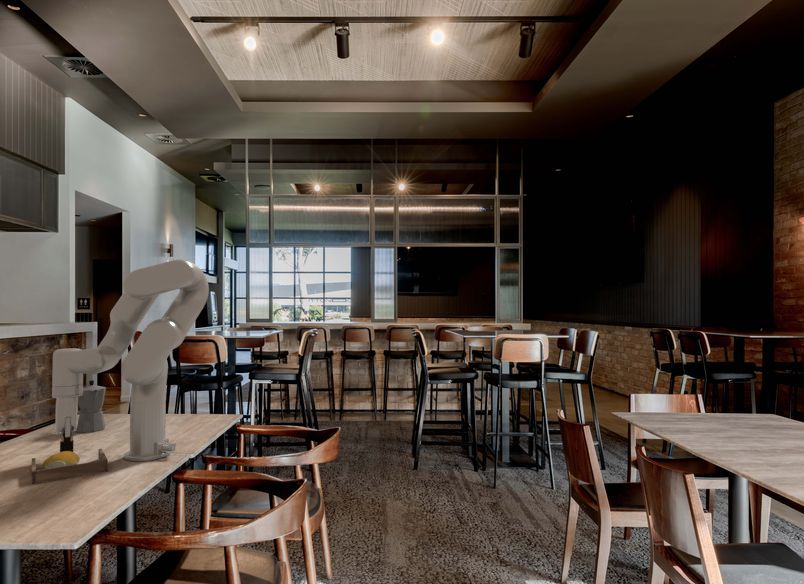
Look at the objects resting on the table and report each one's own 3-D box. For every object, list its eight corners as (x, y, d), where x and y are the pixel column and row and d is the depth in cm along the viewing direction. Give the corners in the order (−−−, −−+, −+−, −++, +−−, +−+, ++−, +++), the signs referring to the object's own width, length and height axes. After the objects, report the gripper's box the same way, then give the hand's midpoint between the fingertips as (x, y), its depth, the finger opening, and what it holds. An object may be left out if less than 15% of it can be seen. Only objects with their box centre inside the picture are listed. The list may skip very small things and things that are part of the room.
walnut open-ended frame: (31, 469, 140) (31, 458, 141) (101, 458, 150) (101, 448, 150) (31, 484, 128) (31, 472, 129) (107, 471, 138) (107, 460, 138)
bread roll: (82, 460, 149) (82, 447, 149) (71, 470, 140) (72, 455, 140) (50, 463, 147) (50, 449, 147) (36, 472, 138) (37, 457, 138)
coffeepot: (110, 430, 185) (111, 380, 186) (80, 435, 179) (80, 383, 179) (99, 424, 196) (99, 376, 197) (70, 428, 190) (71, 379, 191)
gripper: (51, 389, 153) (50, 451, 153) (52, 395, 141) (51, 463, 141) (81, 386, 158) (80, 447, 157) (84, 393, 146) (83, 458, 145)
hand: (66, 454), depth 149 cm, fingers closed
